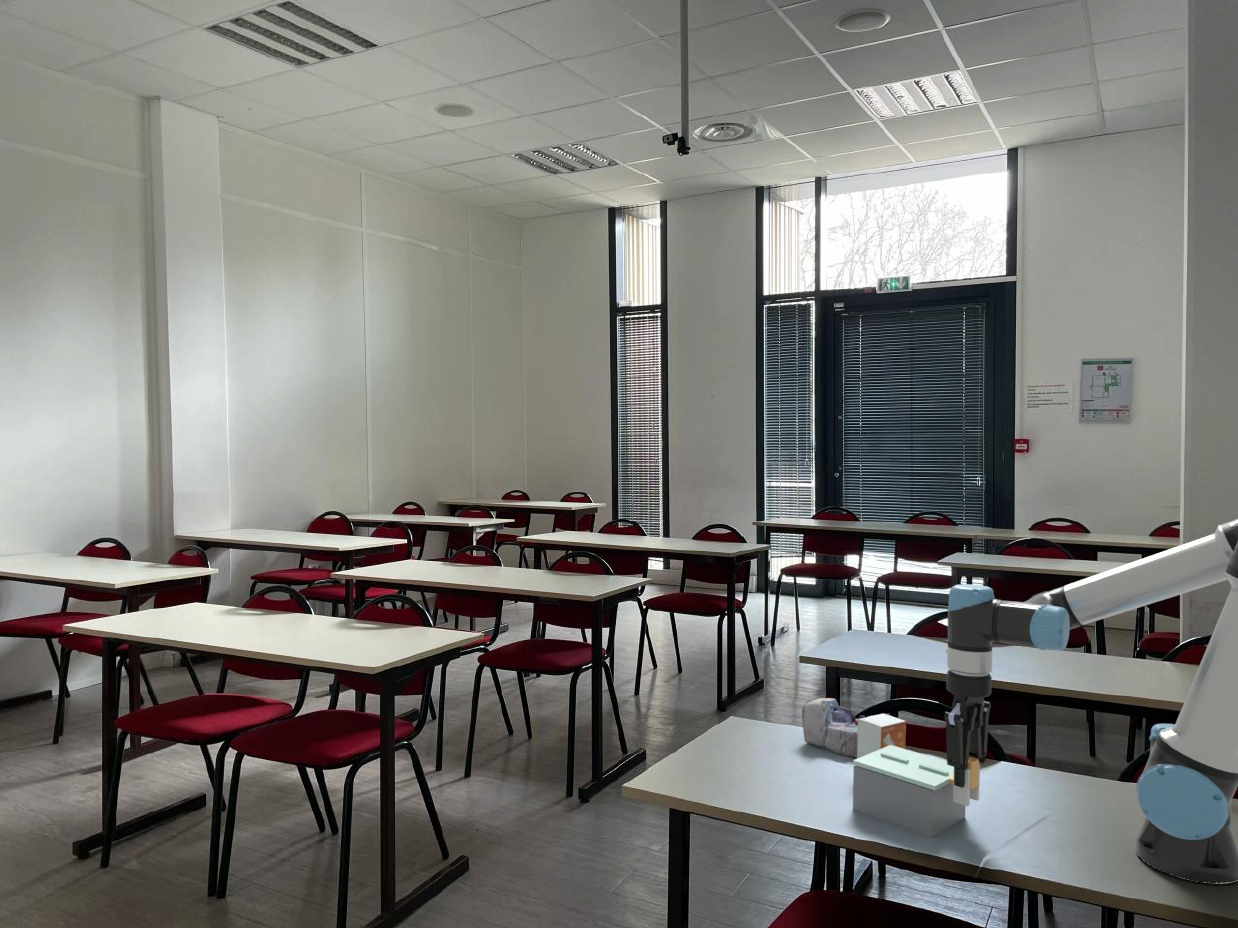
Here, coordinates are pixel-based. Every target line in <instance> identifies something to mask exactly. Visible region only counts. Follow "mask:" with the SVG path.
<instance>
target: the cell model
mask: <svg viewBox="0 0 1238 928" xmlns="http://www.w3.org/2000/svg"><path fill="white" fill-rule="evenodd" d="M874 715H875V714H873V715H872V716H874ZM862 718H866V715H862V714H860V715H859V716H858V718H856V716H855V715H854V714H853V713H852V711H851V709H850V708H848V707H844V706H840V705H839V703H838V701H837V699H836V698H832V697H830V698H829V697H822V698H821V697H819V698H817V699H814V700H812V701H808V702H806V703H805V704H803V707H802V710H801V722H802V730H803V738H804V741H805V742H806V743H807V744H811V745H815V746H818V747H822V748H823V749H826V750H828V751H831V752H833V753H837V754H839V755H843V756H844V757H852V758H853V757H855V758H857V750H858V719H862Z"/></svg>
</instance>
